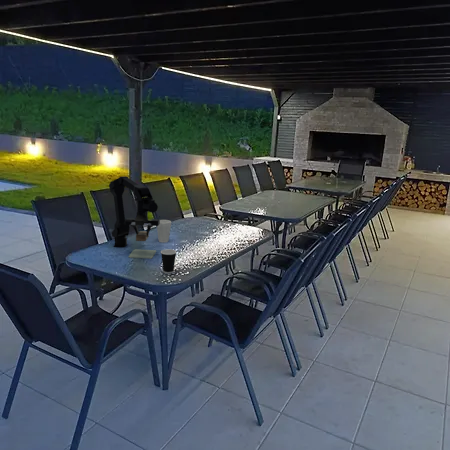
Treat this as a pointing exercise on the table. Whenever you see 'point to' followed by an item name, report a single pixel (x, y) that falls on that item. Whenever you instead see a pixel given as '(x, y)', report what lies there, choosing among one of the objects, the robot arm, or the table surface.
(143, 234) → the two-tone brown block
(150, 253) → the mat
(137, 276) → the table surface
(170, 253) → the dixie cup
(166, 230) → the foam cup
